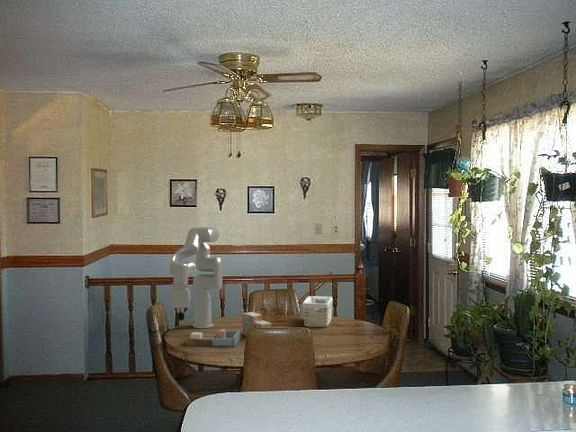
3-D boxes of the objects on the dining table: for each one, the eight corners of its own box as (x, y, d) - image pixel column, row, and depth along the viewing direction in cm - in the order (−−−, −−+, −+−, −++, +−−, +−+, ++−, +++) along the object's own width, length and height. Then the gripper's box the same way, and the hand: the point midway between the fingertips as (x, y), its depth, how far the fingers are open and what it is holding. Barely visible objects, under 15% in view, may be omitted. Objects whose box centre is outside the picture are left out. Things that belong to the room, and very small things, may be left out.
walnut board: (193, 337, 331) (193, 332, 331) (218, 338, 330) (218, 333, 330) (185, 345, 315) (185, 339, 315) (211, 345, 314) (211, 340, 314)
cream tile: (193, 336, 322) (193, 332, 321) (202, 336, 321) (202, 332, 321) (190, 339, 317) (190, 334, 316) (199, 339, 316) (199, 334, 316)
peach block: (221, 329, 327) (225, 329, 327) (221, 338, 327) (226, 338, 327) (219, 331, 322) (223, 331, 322) (219, 340, 322) (223, 340, 322)
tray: (219, 337, 331) (219, 329, 330) (241, 338, 329) (240, 329, 329) (211, 346, 313) (211, 336, 313) (234, 346, 311) (234, 337, 311)
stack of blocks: (271, 339, 326) (271, 317, 325) (262, 341, 322) (261, 319, 322) (251, 332, 344) (251, 311, 343) (242, 334, 340) (242, 312, 340)
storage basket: (328, 328, 353) (328, 303, 352) (301, 327, 356) (301, 302, 355) (333, 319, 376) (333, 296, 376) (308, 318, 379) (307, 295, 379)
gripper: (165, 286, 316) (165, 321, 316) (192, 287, 314) (193, 321, 314) (169, 285, 323) (170, 318, 323) (196, 285, 321) (196, 319, 322)
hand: (181, 320), depth 319 cm, fingers closed
